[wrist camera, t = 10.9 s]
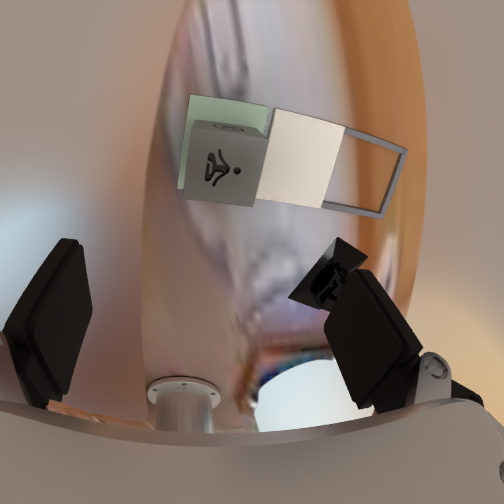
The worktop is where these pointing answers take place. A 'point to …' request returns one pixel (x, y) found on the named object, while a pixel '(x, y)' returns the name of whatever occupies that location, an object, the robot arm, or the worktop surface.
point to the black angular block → (328, 276)
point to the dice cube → (223, 163)
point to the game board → (289, 152)
